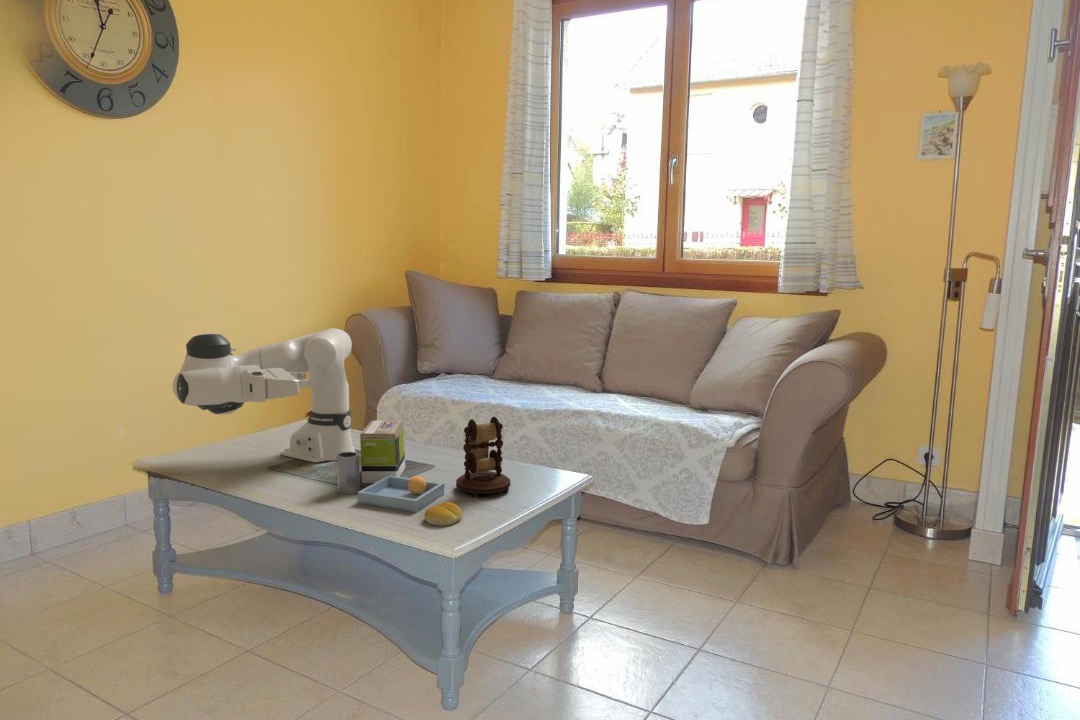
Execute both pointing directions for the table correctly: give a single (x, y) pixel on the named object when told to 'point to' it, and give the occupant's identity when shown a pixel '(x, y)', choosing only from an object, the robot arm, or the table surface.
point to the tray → (399, 494)
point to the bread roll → (443, 514)
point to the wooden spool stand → (483, 459)
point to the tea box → (382, 450)
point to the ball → (417, 485)
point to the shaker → (348, 472)
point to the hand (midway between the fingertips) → (309, 379)
